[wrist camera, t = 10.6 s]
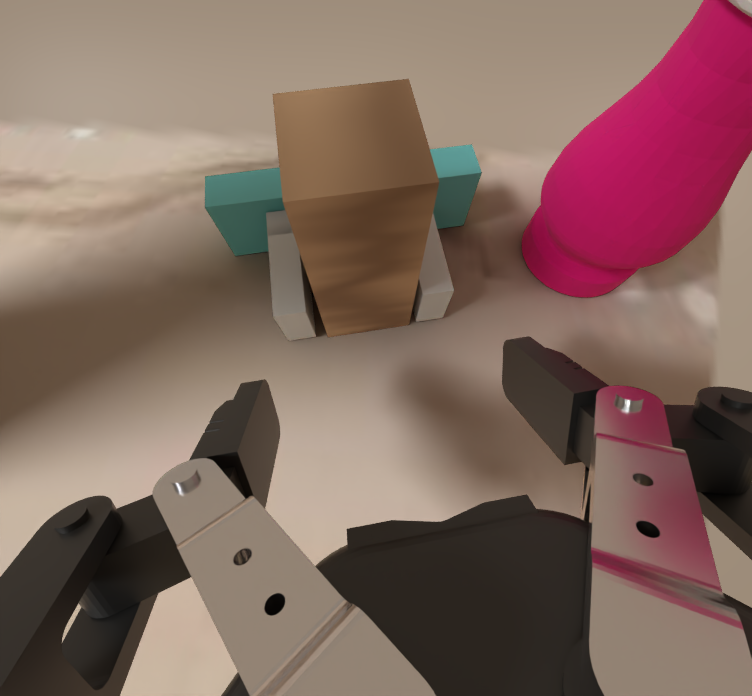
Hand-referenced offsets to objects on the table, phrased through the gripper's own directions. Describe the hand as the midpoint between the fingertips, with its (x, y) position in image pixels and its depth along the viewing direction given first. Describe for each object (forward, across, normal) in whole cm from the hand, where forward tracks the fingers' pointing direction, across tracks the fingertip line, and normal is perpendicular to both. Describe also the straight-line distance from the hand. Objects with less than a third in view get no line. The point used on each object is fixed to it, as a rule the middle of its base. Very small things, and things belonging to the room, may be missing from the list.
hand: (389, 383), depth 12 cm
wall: (+13, 0, -4) cm, 13 cm away
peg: (+9, 0, 0) cm, 9 cm away
